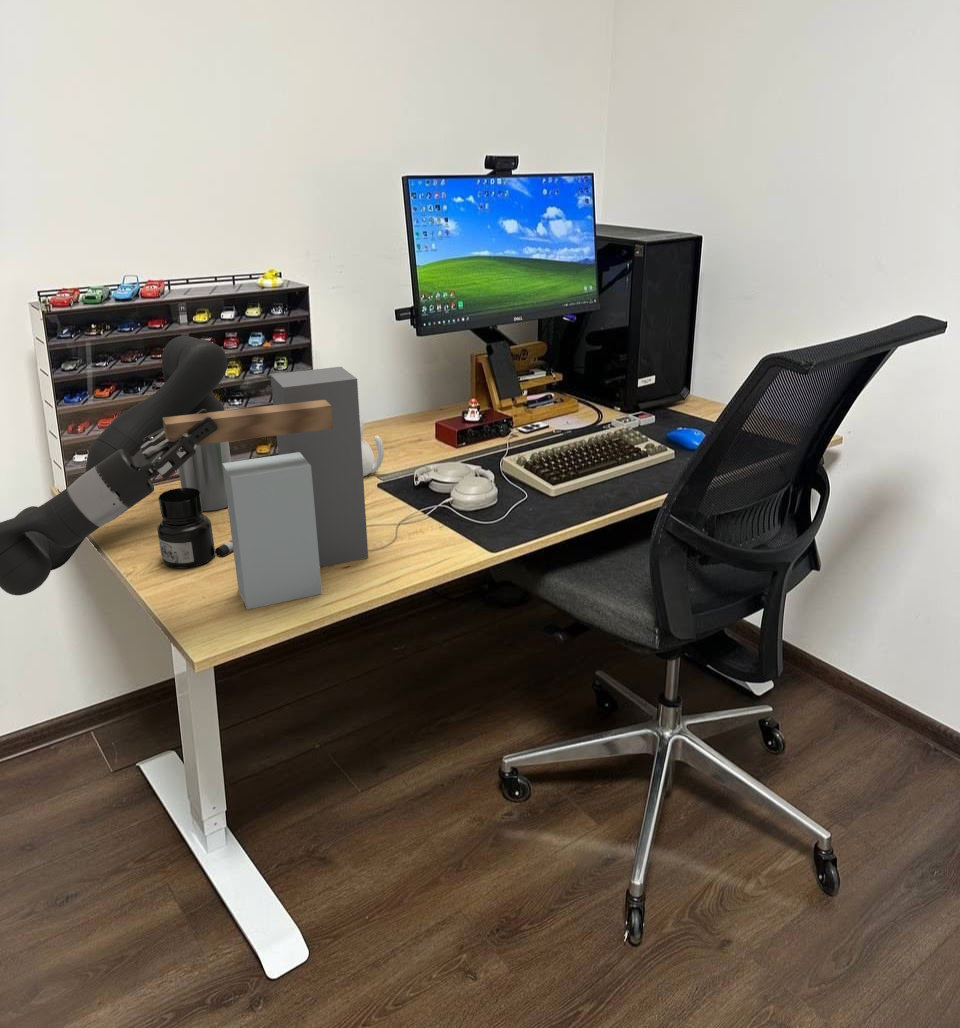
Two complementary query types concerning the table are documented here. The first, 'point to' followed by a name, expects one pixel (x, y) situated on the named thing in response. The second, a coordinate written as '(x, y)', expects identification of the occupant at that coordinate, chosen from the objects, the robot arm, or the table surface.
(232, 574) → the table surface
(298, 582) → the blue-grey step
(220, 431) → the walnut bar
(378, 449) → the cat figurine
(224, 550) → the marker
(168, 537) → the ink bottle
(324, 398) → the charcoal stand
